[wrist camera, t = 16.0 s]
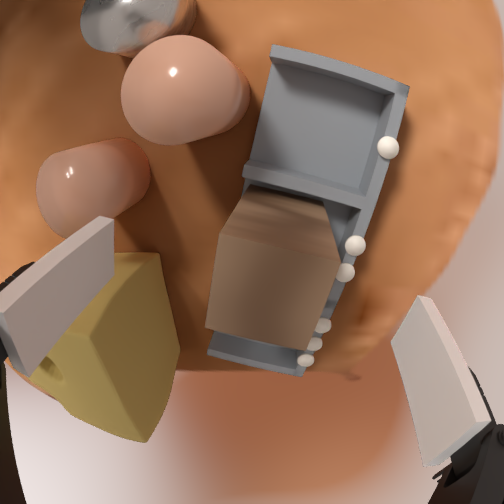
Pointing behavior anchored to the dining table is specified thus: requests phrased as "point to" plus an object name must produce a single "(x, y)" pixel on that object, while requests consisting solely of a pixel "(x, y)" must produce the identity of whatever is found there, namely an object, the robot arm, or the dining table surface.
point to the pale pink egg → (183, 91)
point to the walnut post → (273, 268)
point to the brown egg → (91, 183)
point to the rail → (320, 169)
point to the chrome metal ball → (134, 23)
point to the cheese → (118, 353)
